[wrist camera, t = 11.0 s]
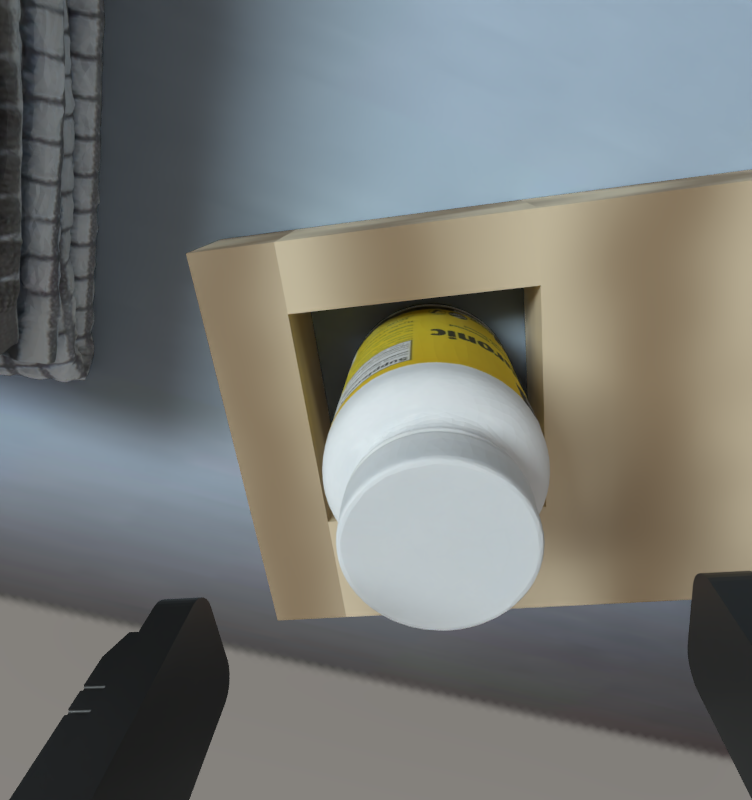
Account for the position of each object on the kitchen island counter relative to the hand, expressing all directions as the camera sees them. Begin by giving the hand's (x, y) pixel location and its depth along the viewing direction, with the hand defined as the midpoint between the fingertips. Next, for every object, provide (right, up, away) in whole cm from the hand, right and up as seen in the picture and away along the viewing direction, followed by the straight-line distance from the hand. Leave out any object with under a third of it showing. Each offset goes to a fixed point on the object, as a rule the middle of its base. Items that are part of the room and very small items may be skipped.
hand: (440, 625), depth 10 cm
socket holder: (+8, +4, +10) cm, 13 cm away
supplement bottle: (+1, +5, +10) cm, 12 cm away
